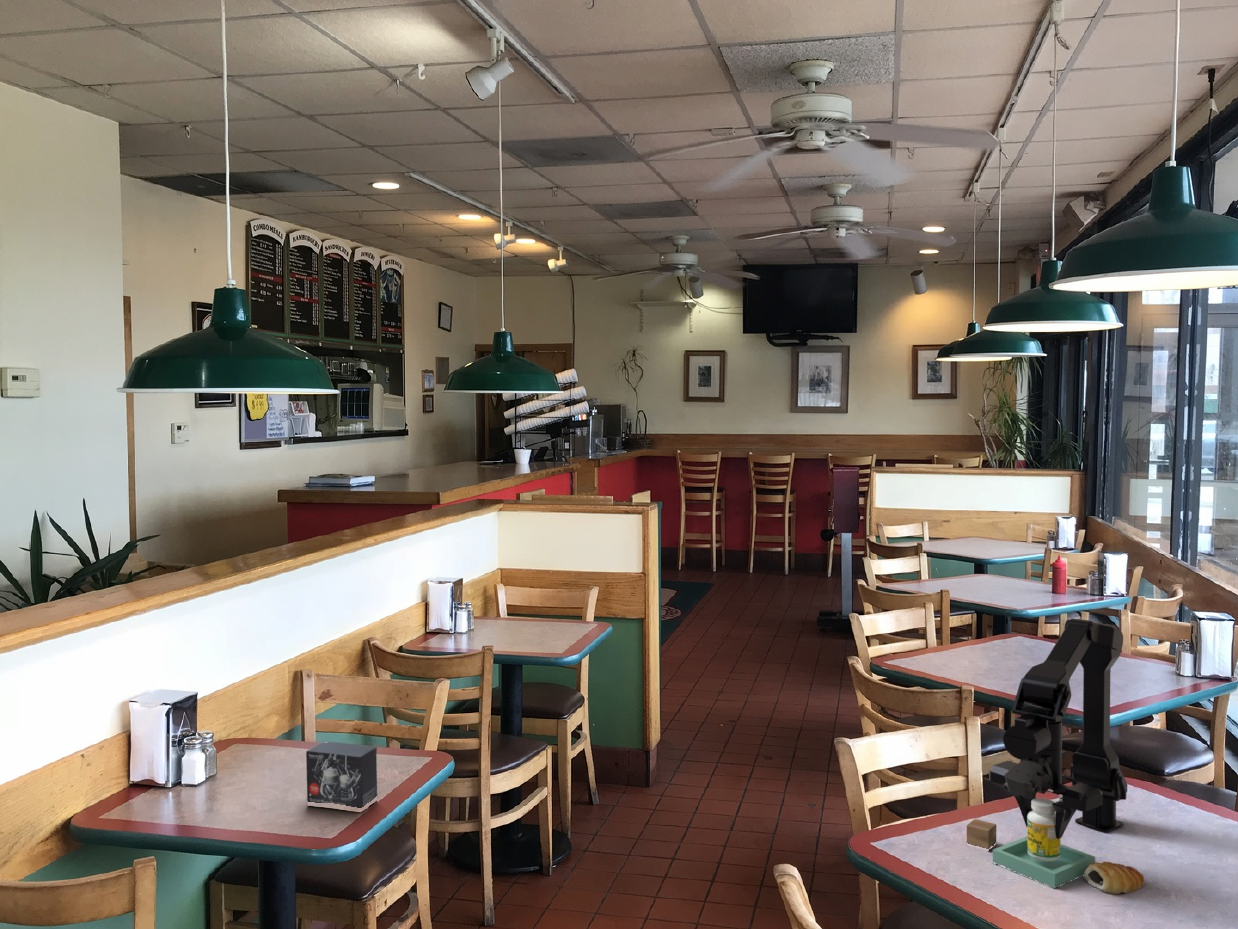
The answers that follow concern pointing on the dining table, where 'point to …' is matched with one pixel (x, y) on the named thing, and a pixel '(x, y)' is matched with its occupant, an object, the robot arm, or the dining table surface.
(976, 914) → the dining table surface
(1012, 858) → the tray
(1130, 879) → the pastry
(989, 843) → the walnut block
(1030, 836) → the supplement bottle
